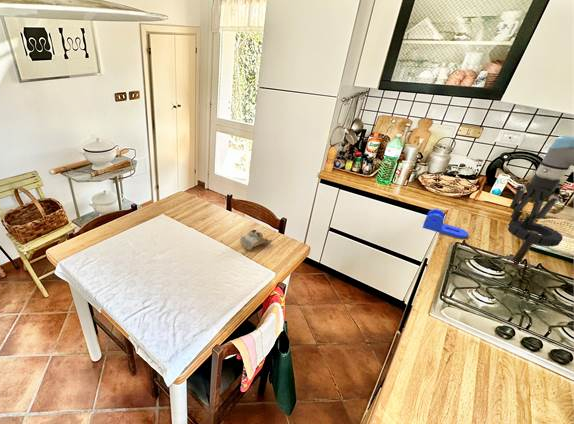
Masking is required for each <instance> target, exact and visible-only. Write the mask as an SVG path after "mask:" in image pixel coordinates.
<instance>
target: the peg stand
mask: <svg viewBox="0 0 574 424" xmlns="http://www.w3.org/2000/svg"><path fill="white" fill-rule="evenodd" d="M529 232H531V233H535V234H538V235H540V234H539V233H538V232H536V231H529ZM532 246H533V243H530V242H527V241H526V240H523V242H522V244H521V245H520V247H519V248H518V250H517V251H516V253H514V254H515V255H513V254H510V255H505V256H504V255H503V256H500V257H501V258H505V259H509V260H511V261H513V260H514V261H513V262H514V263H507V264H508V265H509V266H512V267H513V268H514V269H517V270H518V271H520V270H522V269H521V268H520V266H519V265H518V264H519V262H520V263H522V262H523V261H524V258H525V256H526V255H527V253H528V252H529V250H530V249H531V248H532ZM515 261H516V262H515ZM527 266H528V268H527V269H529V268H533V267H534V265H532V264H530V263H528V262H527Z"/></svg>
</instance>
